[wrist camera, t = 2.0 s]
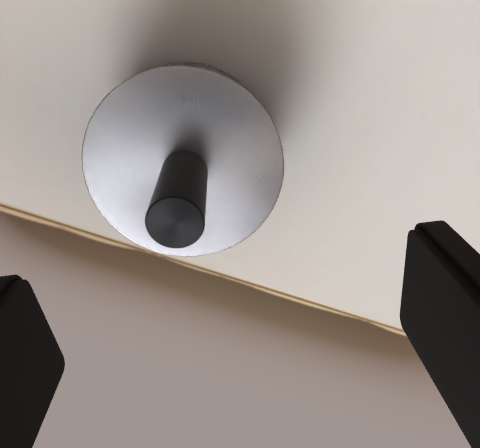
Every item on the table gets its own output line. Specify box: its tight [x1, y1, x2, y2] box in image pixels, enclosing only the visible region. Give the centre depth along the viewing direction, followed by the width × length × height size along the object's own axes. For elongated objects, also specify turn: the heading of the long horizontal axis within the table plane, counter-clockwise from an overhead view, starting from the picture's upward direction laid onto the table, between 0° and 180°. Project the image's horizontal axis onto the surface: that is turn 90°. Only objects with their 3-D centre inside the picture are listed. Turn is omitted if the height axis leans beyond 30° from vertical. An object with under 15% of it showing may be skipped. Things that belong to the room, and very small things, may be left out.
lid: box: [82, 65, 284, 256], centre depth 22 cm, size 12×12×8 cm
